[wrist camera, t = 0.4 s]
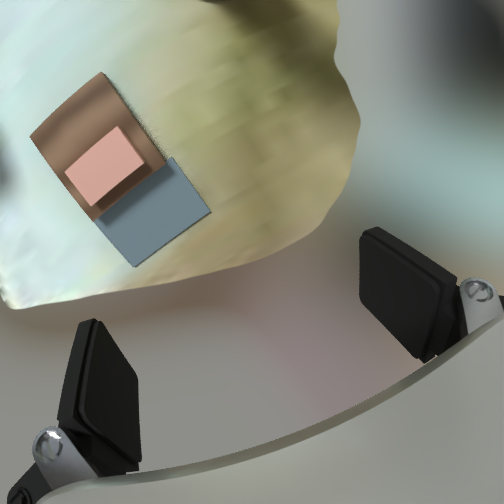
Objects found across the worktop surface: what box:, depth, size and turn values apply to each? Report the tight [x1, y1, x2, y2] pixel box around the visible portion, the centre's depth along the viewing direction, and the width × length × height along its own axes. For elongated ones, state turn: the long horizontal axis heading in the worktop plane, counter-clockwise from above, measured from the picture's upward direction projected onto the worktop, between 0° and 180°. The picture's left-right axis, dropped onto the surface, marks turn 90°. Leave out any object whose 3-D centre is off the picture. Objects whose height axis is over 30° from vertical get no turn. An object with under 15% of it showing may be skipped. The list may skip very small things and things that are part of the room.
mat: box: [94, 157, 210, 268], centre depth 41 cm, size 10×15×1 cm, turn 121°
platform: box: [29, 72, 166, 222], centre depth 33 cm, size 16×13×3 cm
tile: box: [65, 126, 145, 206], centre depth 33 cm, size 6×9×2 cm, turn 121°
